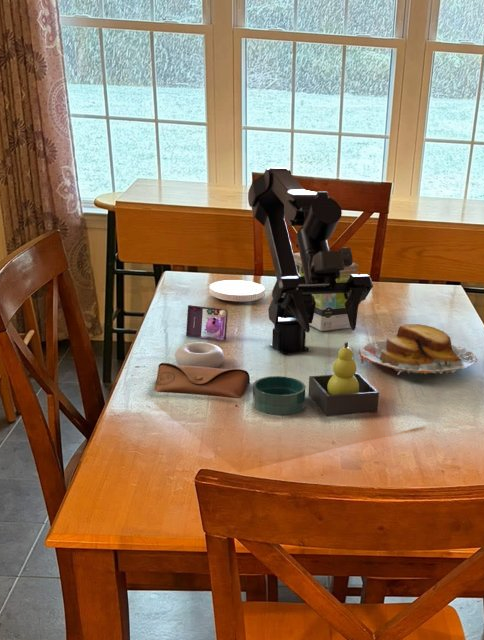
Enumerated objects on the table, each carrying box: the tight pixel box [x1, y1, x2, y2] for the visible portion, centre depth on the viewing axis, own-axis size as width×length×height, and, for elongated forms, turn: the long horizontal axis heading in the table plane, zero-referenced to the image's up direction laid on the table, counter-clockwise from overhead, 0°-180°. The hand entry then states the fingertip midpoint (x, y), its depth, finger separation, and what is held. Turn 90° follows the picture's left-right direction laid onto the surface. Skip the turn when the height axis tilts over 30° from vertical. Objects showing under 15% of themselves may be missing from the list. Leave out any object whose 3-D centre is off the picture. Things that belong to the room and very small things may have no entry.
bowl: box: [252, 375, 307, 416], centre depth 152 cm, size 10×10×4 cm
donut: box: [174, 341, 225, 368], centre depth 169 cm, size 10×4×10 cm
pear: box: [327, 341, 359, 395], centre depth 153 cm, size 6×6×12 cm
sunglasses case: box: [154, 362, 251, 399], centre depth 157 cm, size 18×7×7 cm, turn 89°
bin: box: [307, 372, 380, 417], centre depth 155 cm, size 10×10×5 cm
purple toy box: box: [185, 304, 229, 342], centre depth 184 cm, size 7×5×9 cm
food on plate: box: [358, 323, 478, 376], centre depth 177 cm, size 25×25×7 cm
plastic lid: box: [209, 279, 266, 302], centre depth 211 cm, size 14×14×2 cm
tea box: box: [293, 252, 359, 332], centre depth 196 cm, size 15×10×15 cm, turn 34°
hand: (331, 330), depth 156 cm, fingers open, 9 cm apart
